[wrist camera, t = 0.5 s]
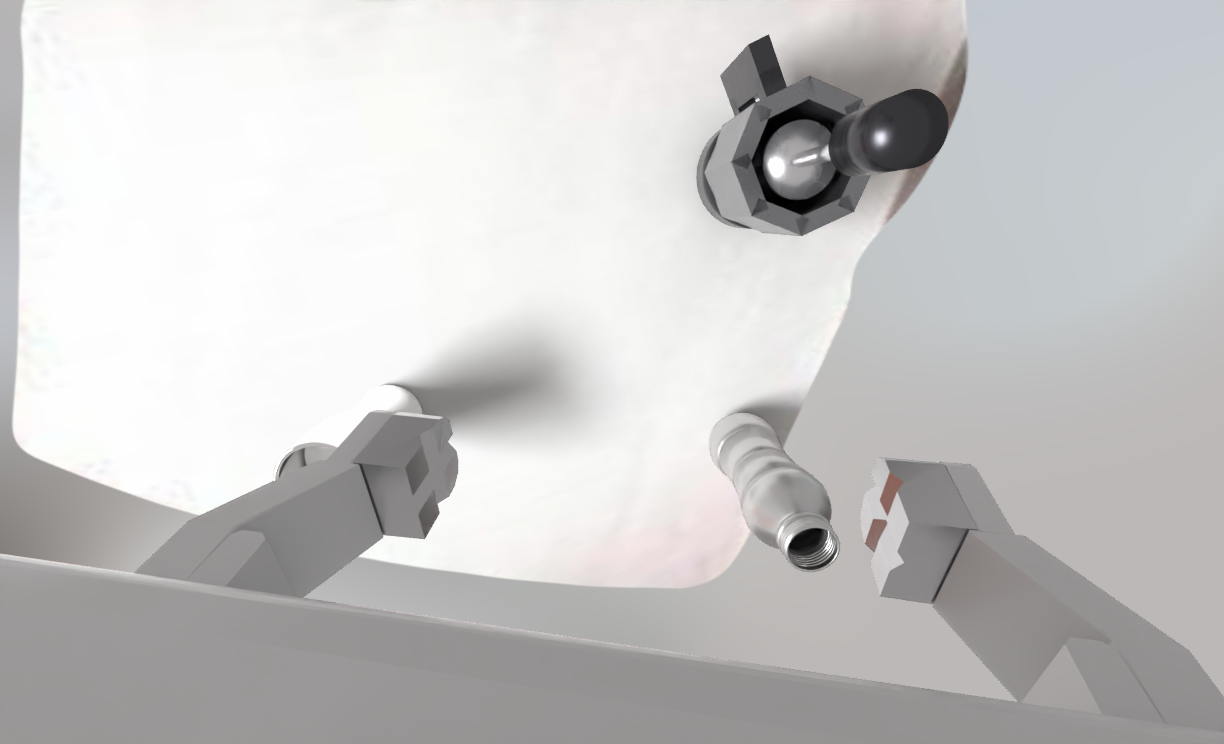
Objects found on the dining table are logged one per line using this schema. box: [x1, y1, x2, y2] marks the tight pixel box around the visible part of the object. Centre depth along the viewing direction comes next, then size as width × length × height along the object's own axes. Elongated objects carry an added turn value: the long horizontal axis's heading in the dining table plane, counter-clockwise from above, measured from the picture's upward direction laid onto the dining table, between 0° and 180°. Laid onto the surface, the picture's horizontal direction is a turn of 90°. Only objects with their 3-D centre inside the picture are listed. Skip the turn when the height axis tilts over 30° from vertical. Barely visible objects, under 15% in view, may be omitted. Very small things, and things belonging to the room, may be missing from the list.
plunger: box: [761, 89, 948, 200], centre depth 31 cm, size 5×5×14 cm
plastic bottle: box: [709, 413, 840, 572], centre depth 47 cm, size 6×7×20 cm
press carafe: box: [697, 35, 870, 236], centre depth 43 cm, size 12×9×14 cm
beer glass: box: [274, 385, 423, 481], centre depth 47 cm, size 7×7×15 cm
